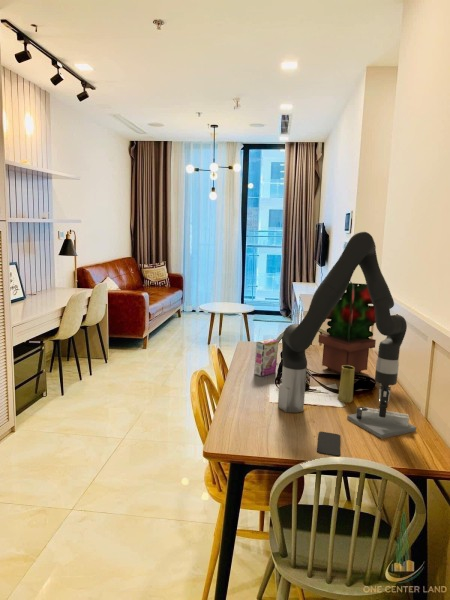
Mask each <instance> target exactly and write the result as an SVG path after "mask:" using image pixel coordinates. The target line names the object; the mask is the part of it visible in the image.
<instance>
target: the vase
mask: <svg viewBox="0 0 450 600" xmlns="http://www.w3.org/2000/svg"><path fill="white" fill-rule="evenodd" d="M354 373H355V368H354V367H353V366H349V365H343V366H342V371H341V374H340V380H339V381H340V382H339V389H338V396H337V400H338V399H339V401H340V402H342V401H343V402H342V403H352V402H353V400H354V398H353V397H354V383H355V374H354Z"/></svg>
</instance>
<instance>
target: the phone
mask: <svg viewBox="0 0 450 600" xmlns="http://www.w3.org/2000/svg"><path fill="white" fill-rule="evenodd" d="M316 453H317V454H320V455H326V456H333V457H340V456H341V435H340V434H338V433H333V432H327V431H318V436H317V445H316Z"/></svg>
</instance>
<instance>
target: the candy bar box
mask: <svg viewBox="0 0 450 600" xmlns="http://www.w3.org/2000/svg"><path fill="white" fill-rule="evenodd" d="M278 350H279V340H278V339H277V340H276V339H273V338H268V339H263V340H259V341H256V346H255V357H254V359H255V360H254V373H253V375H256V376H258V377H262V378H263V377H265V376H268V375H272V374H275V373H277V372H276V371H277V364H278V362H277V361H278ZM276 363H277V364H276Z"/></svg>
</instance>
